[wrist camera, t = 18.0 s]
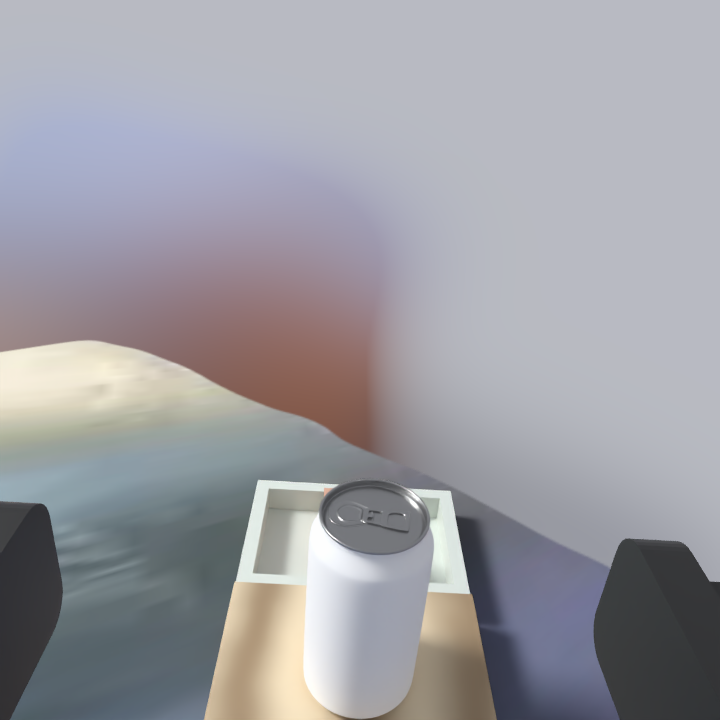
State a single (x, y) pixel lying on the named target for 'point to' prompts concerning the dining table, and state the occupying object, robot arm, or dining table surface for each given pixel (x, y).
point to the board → (286, 649)
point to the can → (366, 596)
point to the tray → (293, 525)
